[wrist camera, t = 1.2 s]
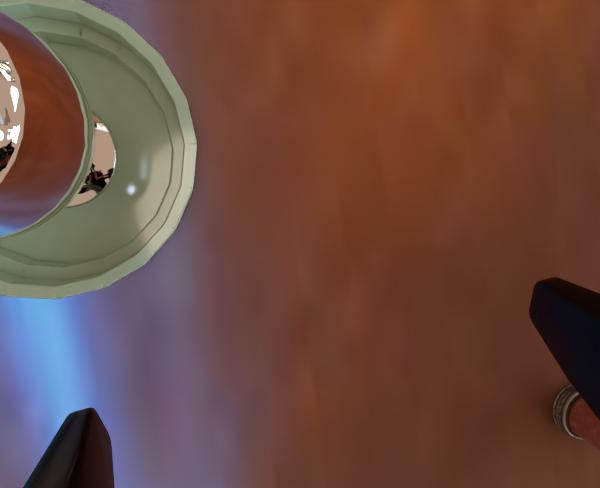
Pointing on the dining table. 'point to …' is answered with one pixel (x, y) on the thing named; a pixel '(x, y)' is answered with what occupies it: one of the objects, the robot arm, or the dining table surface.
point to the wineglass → (45, 134)
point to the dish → (130, 148)
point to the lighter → (576, 416)
